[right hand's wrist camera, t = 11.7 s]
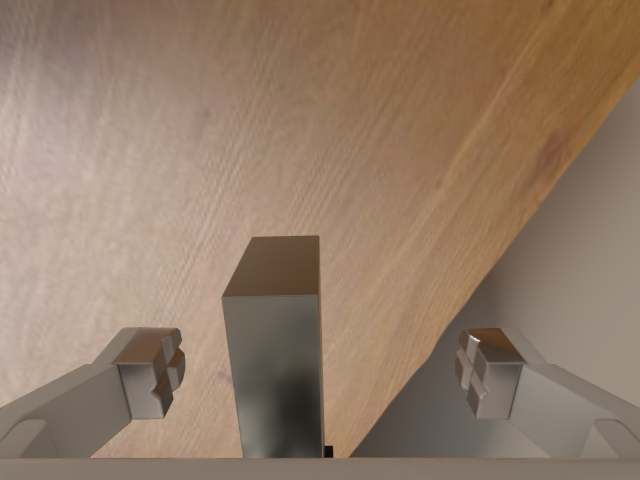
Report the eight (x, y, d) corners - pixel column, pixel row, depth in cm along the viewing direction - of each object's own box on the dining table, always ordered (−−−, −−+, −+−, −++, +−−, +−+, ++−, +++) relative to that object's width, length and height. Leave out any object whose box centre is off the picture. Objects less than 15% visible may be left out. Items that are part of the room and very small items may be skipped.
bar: (251, 236, 26) (220, 297, 18) (319, 235, 26) (318, 294, 18) (275, 481, 35) (261, 595, 27) (325, 480, 35) (327, 594, 27)
